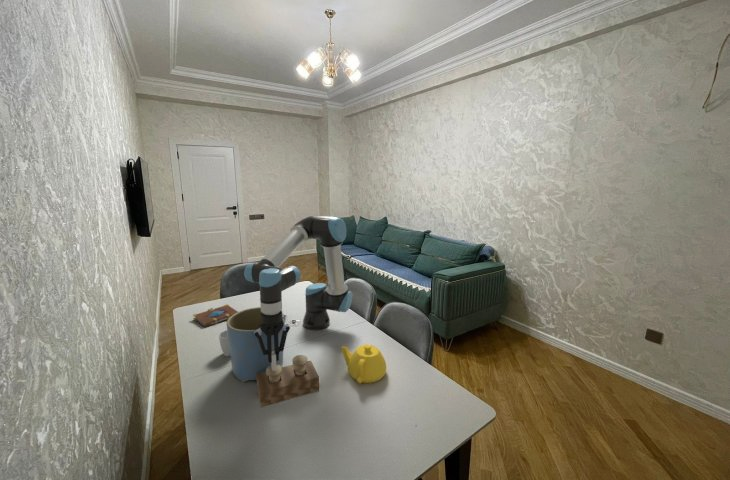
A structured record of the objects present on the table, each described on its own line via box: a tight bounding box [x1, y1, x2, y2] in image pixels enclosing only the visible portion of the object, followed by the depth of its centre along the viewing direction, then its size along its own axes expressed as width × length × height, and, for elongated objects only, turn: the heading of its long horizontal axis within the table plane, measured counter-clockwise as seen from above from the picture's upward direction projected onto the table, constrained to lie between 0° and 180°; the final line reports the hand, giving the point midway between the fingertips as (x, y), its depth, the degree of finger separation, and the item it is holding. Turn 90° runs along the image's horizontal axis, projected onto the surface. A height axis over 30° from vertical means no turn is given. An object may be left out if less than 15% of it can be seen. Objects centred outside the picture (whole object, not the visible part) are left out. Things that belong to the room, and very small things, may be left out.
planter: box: [225, 306, 285, 383], centre depth 131 cm, size 23×23×24 cm
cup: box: [218, 329, 231, 357], centre depth 143 cm, size 8×8×10 cm
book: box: [192, 303, 239, 328], centre depth 181 cm, size 16×25×5 cm, turn 140°
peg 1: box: [266, 365, 283, 384], centre depth 117 cm, size 6×6×7 cm
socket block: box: [256, 360, 320, 408], centre depth 120 cm, size 22×12×6 cm, turn 115°
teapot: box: [341, 344, 387, 384], centre depth 130 cm, size 20×19×13 cm
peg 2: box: [292, 354, 308, 377], centre depth 121 cm, size 6×6×7 cm
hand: (273, 368), depth 116 cm, fingers closed
